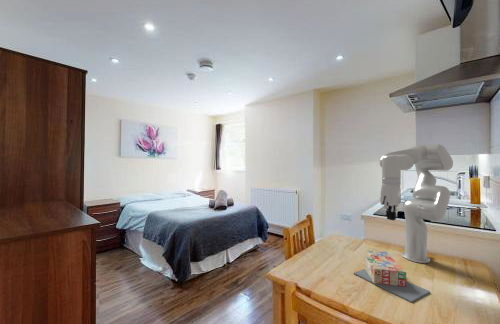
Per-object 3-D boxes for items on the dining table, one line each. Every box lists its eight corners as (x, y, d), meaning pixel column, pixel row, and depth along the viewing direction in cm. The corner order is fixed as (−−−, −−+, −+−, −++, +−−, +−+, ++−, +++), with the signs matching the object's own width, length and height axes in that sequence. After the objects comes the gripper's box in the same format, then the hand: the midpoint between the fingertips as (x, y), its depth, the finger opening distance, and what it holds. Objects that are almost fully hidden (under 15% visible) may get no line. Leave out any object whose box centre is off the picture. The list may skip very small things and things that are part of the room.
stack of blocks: (386, 264, 114) (359, 261, 117) (386, 251, 114) (360, 249, 117) (406, 287, 93) (373, 283, 96) (406, 271, 93) (373, 268, 96)
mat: (372, 267, 111) (372, 266, 111) (430, 292, 91) (430, 291, 91) (353, 274, 105) (353, 272, 105) (411, 302, 84) (411, 301, 84)
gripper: (391, 179, 115) (391, 215, 116) (374, 181, 108) (374, 220, 108) (407, 180, 109) (408, 218, 109) (390, 183, 101) (391, 224, 102)
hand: (391, 219), depth 109 cm, fingers closed
